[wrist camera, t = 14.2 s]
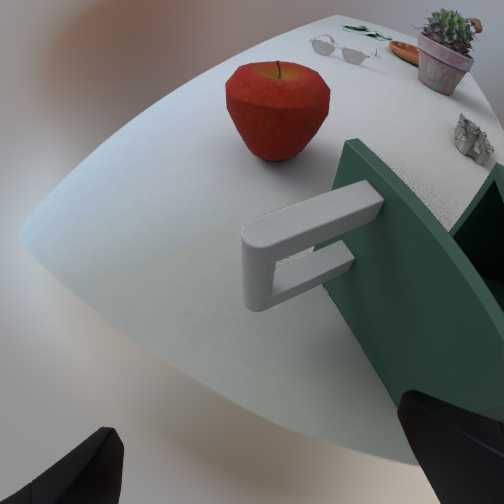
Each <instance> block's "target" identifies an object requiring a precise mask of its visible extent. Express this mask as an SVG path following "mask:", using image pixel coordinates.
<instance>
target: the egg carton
mask: <svg viewBox="0 0 504 504" xmlns="http://www.w3.org/2000/svg"><path fill="white" fill-rule="evenodd" d="M455 132H457V133H456V135H455V139H457V141H456V143H455V146H456V147H457V148H458V149H459V150H460V151H461V153H463V154H464V155H466V154H468V155H470V156H471V157H473V158H474V159H475V161H476V163H478V164H479V165H481V164H485V163H486V162H487V161H488V159H489V157H490V153H493V152H494V147H493V146H491V144H490V142H489V140H488V139H487V138H486V137H487V134H486V132H481V131H480V127H478V126H476V125H475V124H474V123H473V122H471V121H470V120H468V119H467V118H465V117H464V116H463V115H462V114H460V116H459V120H458V123H457V125H456V128H455Z"/></svg>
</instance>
